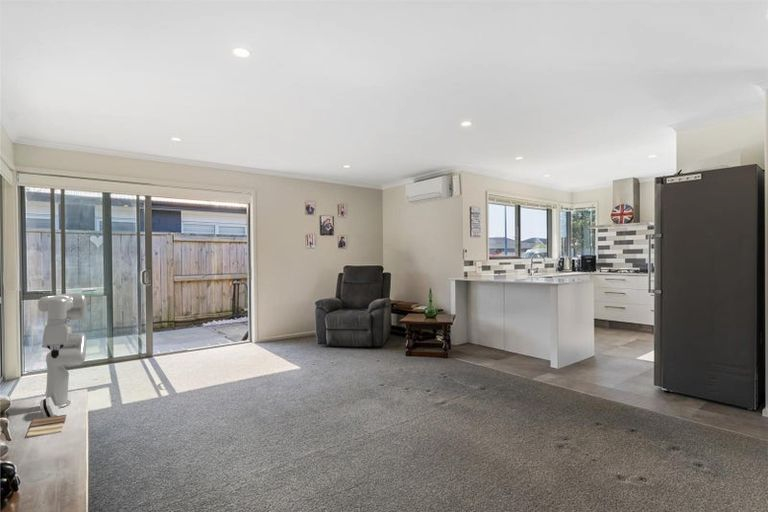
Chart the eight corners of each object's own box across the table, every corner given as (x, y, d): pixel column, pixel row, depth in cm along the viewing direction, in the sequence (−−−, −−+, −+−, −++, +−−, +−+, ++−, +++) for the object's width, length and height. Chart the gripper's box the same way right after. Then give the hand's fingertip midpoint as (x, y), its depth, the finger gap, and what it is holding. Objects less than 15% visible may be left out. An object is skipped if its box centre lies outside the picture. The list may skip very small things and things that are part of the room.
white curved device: (58, 418, 202) (50, 401, 200) (46, 423, 199) (38, 406, 198) (59, 408, 215) (52, 392, 214) (48, 413, 213) (41, 397, 211)
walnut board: (33, 422, 196) (33, 418, 196) (66, 417, 203) (66, 413, 204) (29, 430, 187) (29, 426, 187) (64, 425, 194) (64, 421, 194)
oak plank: (30, 431, 186) (30, 427, 186) (63, 425, 193) (63, 422, 193) (26, 439, 177) (26, 436, 177) (61, 433, 184) (61, 430, 184)
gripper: (75, 320, 208) (73, 354, 208) (38, 322, 200) (36, 358, 199) (74, 322, 202) (72, 357, 201) (36, 324, 193) (34, 361, 193)
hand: (54, 357), depth 200 cm, fingers closed
